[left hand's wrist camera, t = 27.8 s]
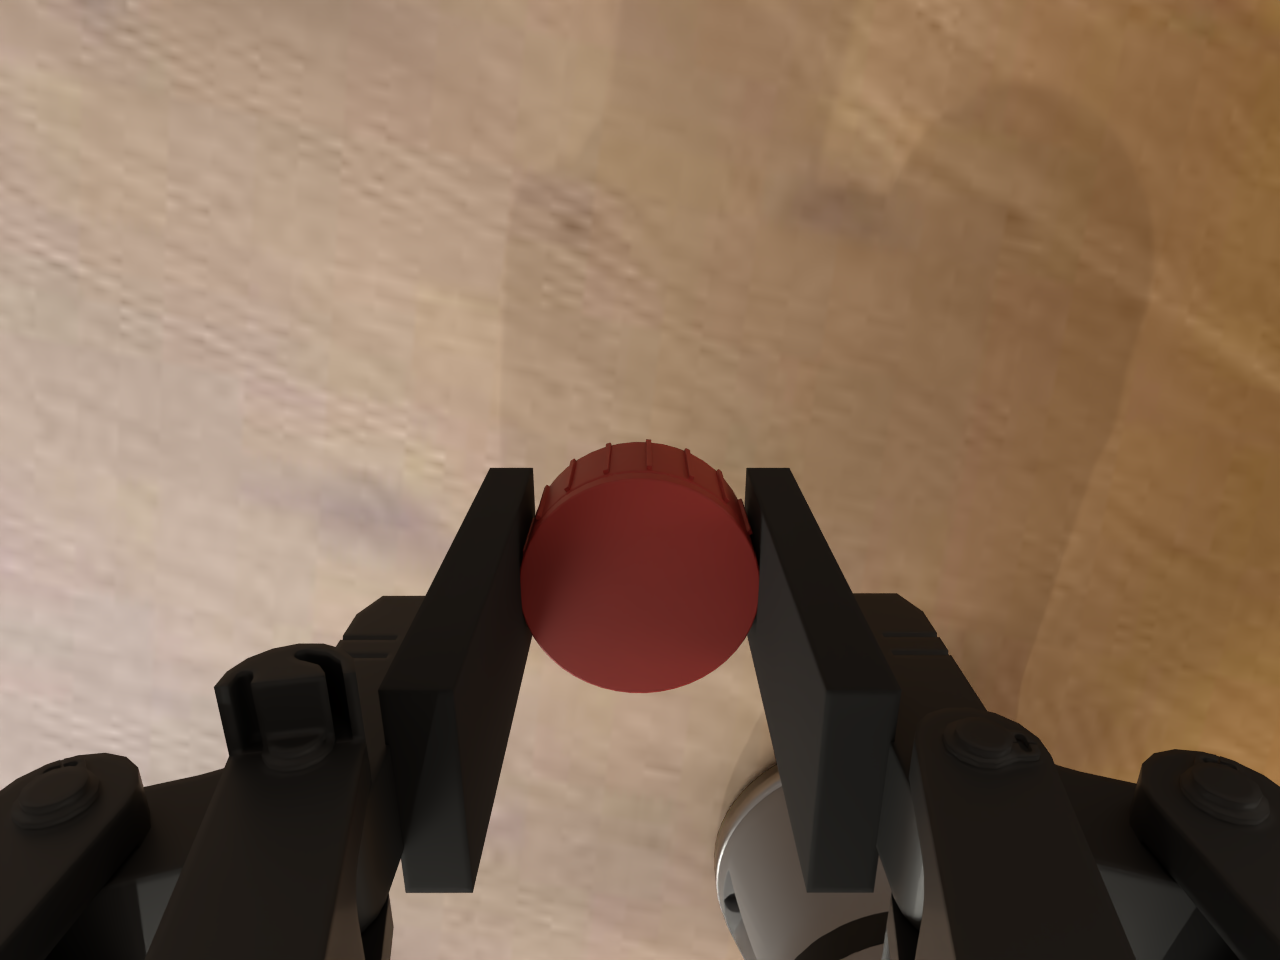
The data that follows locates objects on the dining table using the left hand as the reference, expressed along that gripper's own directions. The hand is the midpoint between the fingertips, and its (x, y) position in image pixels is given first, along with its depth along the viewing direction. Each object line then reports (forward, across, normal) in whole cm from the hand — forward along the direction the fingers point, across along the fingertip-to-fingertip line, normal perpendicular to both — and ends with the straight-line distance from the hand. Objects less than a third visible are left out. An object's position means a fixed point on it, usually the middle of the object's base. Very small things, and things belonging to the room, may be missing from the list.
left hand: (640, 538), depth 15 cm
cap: (-2, 0, 0) cm, 2 cm away
